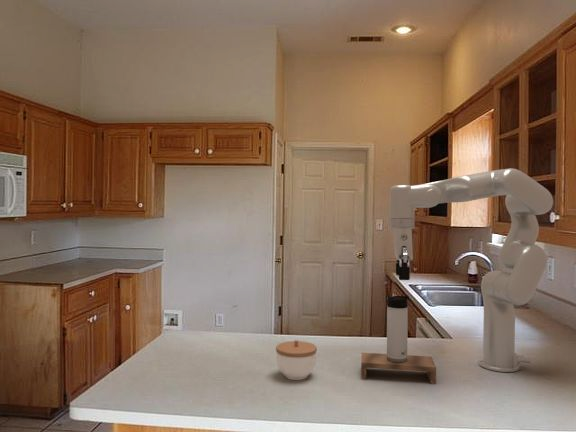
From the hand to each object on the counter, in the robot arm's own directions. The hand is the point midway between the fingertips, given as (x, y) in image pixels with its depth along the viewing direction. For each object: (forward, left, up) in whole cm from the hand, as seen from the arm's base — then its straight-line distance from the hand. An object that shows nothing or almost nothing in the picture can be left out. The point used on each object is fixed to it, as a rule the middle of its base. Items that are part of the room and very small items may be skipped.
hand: (402, 277), depth 146 cm
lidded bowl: (+33, +10, -31) cm, 46 cm away
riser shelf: (+2, +4, -30) cm, 31 cm away
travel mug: (+2, +4, -26) cm, 26 cm away
